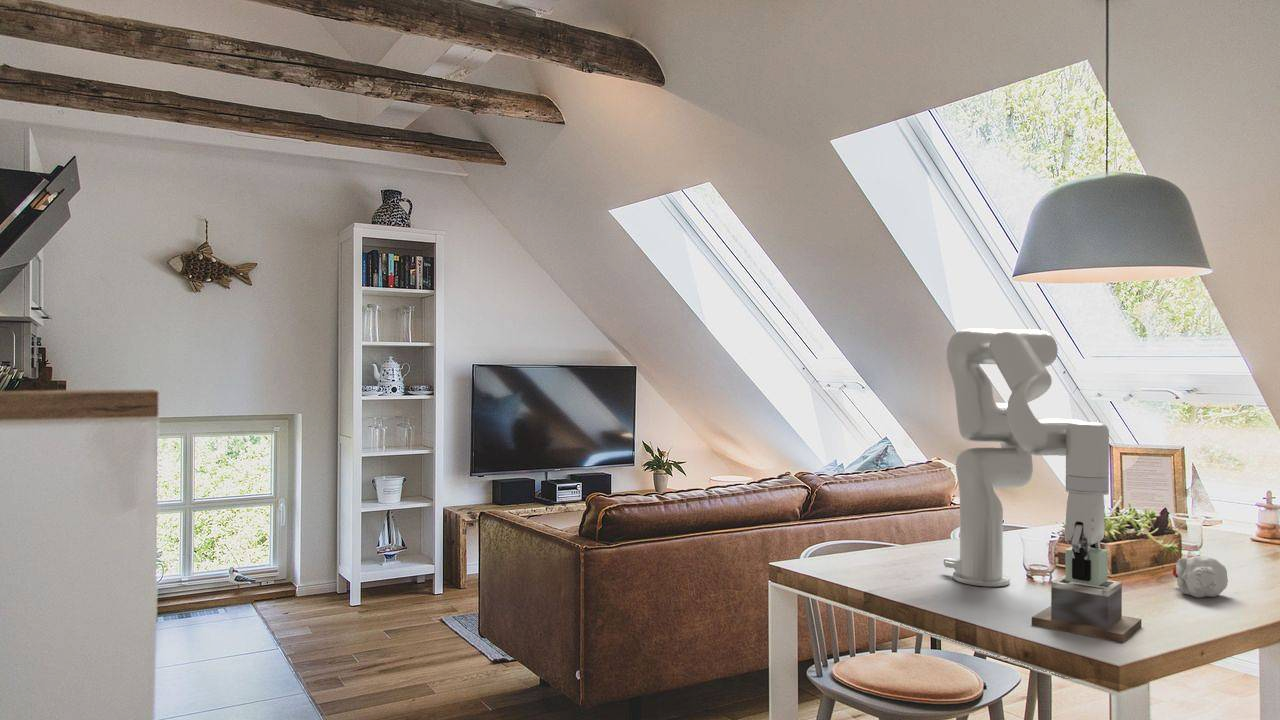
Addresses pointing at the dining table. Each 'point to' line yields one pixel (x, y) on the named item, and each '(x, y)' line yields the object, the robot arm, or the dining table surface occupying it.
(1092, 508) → the robot arm
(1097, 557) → the sage block
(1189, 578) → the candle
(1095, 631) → the pillar base
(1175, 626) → the dining table surface
